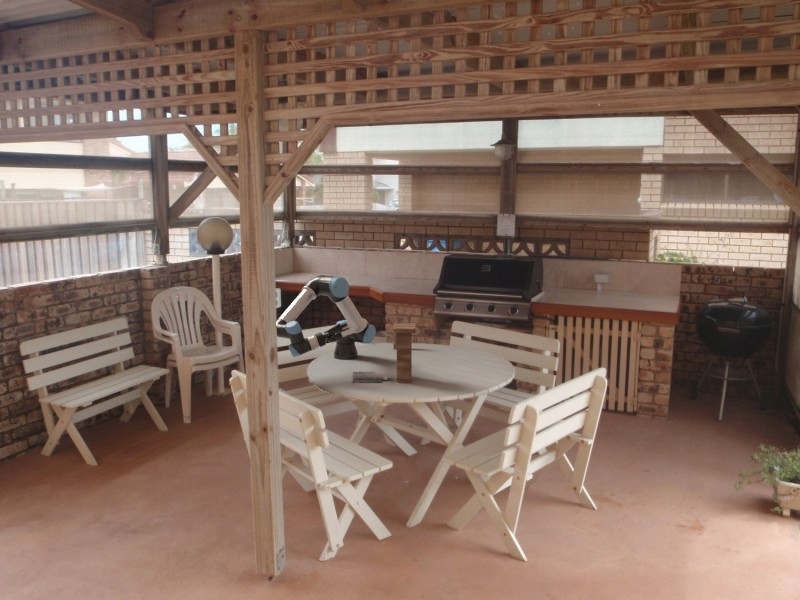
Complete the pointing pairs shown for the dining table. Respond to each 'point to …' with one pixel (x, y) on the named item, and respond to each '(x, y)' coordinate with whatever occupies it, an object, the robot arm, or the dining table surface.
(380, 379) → the rubber mat
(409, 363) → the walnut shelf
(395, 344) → the wooden block
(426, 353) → the dining table surface
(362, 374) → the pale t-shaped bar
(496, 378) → the dining table surface
